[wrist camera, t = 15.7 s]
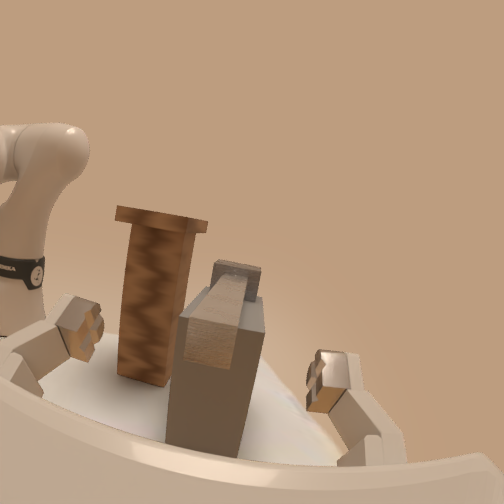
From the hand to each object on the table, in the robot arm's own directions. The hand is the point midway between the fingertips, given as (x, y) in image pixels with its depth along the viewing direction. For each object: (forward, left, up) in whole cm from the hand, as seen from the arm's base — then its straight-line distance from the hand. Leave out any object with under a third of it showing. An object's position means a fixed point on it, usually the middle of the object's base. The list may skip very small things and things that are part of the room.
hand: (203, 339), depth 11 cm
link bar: (0, +21, -5) cm, 21 cm away
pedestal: (0, +25, -22) cm, 33 cm away
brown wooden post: (-12, +36, -22) cm, 44 cm away
